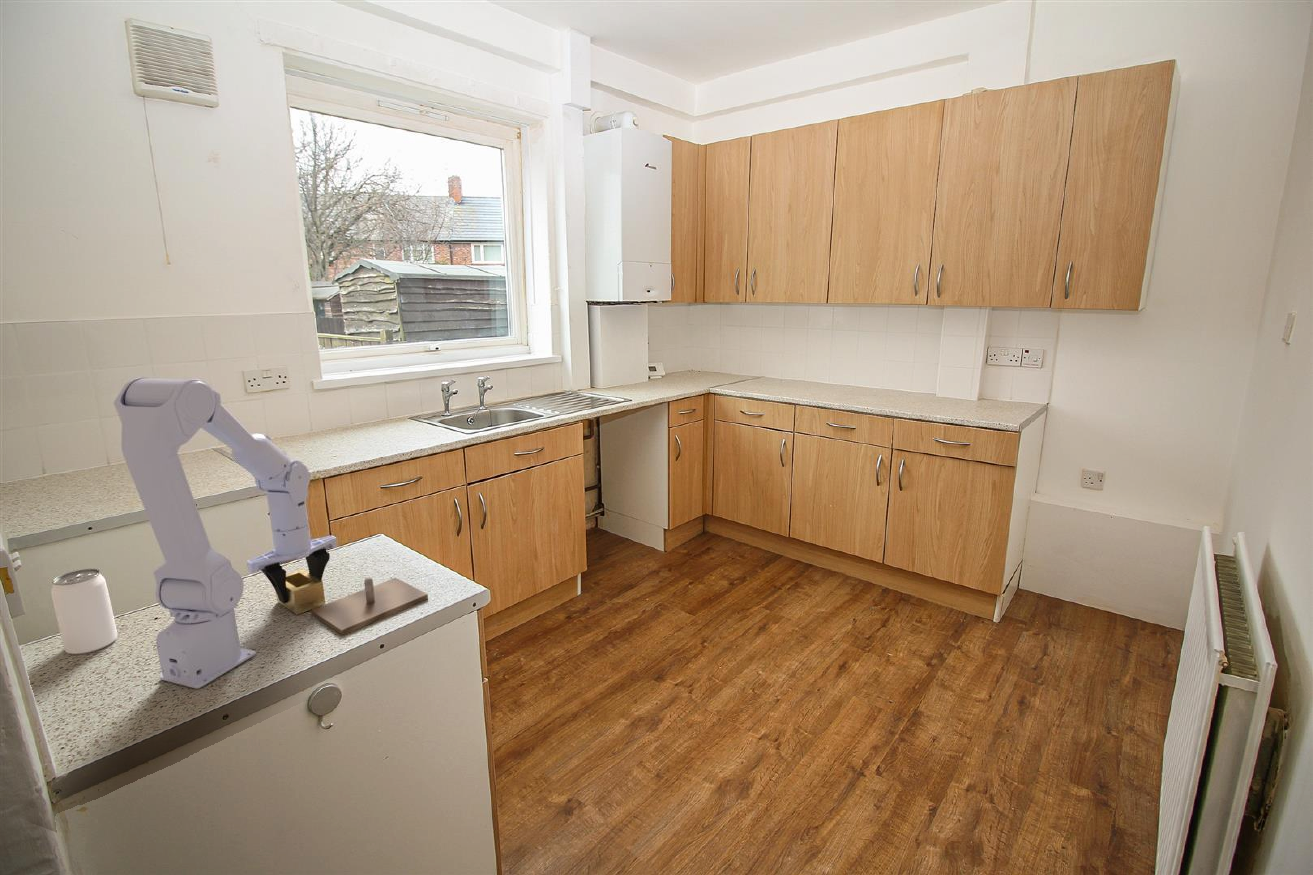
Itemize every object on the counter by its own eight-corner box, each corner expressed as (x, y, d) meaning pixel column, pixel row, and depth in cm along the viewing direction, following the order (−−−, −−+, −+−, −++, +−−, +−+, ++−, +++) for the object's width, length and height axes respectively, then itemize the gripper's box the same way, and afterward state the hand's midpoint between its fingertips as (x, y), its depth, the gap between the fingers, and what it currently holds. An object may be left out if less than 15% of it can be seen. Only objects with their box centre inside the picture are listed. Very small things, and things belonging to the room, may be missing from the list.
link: (325, 603, 114) (322, 581, 113) (296, 614, 110) (293, 591, 109) (305, 591, 119) (302, 569, 118) (277, 601, 115) (273, 578, 114)
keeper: (342, 635, 104) (338, 604, 103) (311, 614, 111) (307, 585, 109) (428, 599, 117) (425, 570, 115) (395, 582, 123) (393, 555, 122)
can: (128, 634, 104) (114, 568, 102) (90, 657, 98) (74, 586, 95) (93, 632, 105) (78, 566, 102) (53, 654, 99) (36, 584, 96)
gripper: (254, 543, 103) (265, 618, 106) (342, 518, 114) (350, 587, 118) (237, 533, 107) (249, 605, 111) (323, 510, 119) (332, 576, 122)
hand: (300, 595), depth 114 cm, fingers closed on link, 5 cm apart
